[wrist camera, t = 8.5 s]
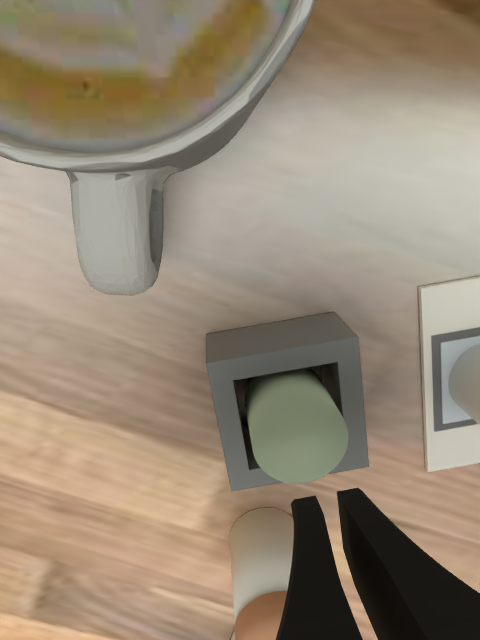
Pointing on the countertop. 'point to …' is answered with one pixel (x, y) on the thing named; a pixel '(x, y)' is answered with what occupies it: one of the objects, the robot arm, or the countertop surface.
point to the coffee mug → (133, 106)
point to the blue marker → (467, 382)
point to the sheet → (447, 370)
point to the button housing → (278, 356)
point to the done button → (294, 426)
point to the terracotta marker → (260, 571)
